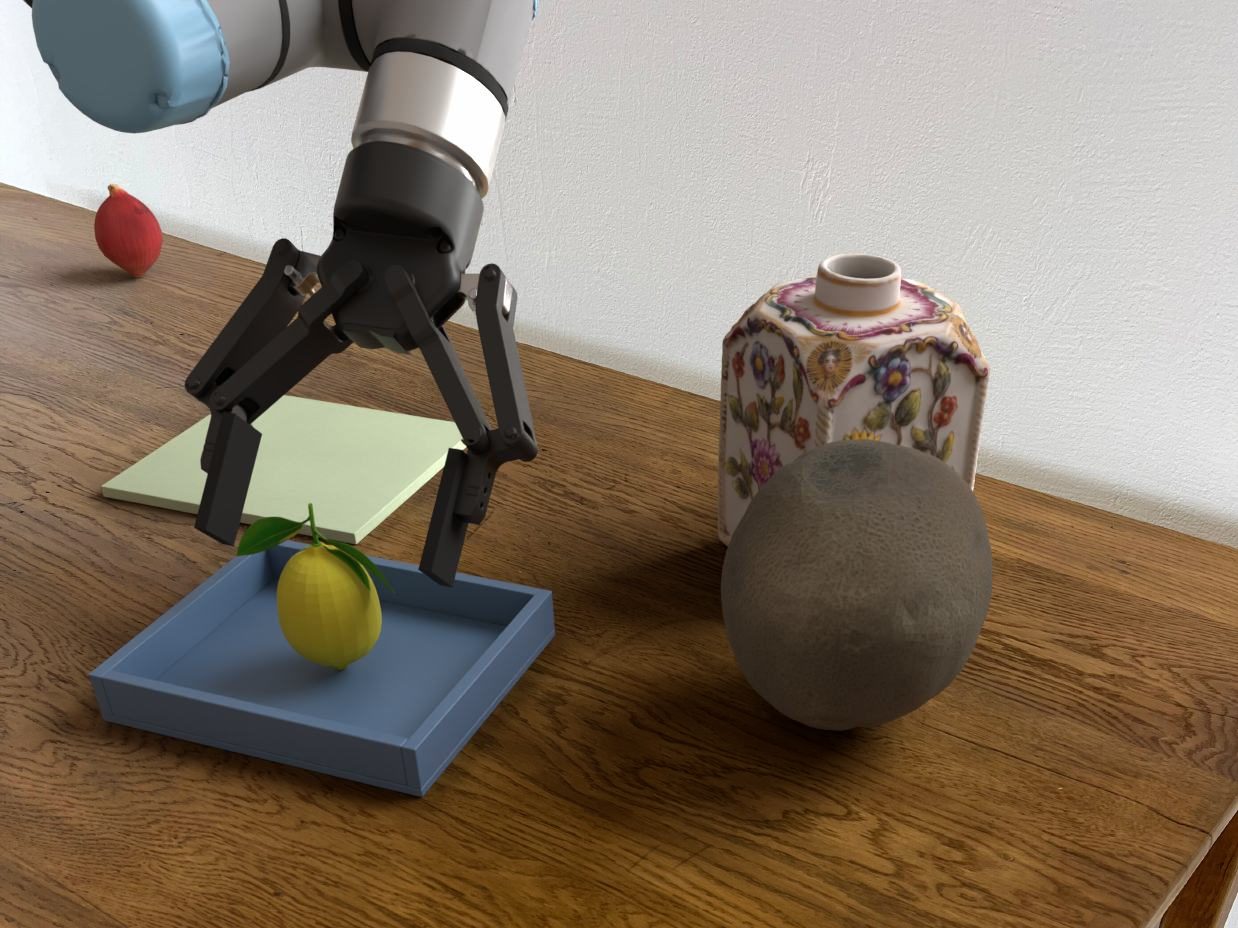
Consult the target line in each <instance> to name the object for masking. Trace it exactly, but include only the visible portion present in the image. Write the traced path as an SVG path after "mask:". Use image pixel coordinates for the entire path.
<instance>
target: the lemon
mask: <svg viewBox="0 0 1238 928" xmlns="http://www.w3.org/2000/svg"><path fill="white" fill-rule="evenodd" d="M308 509H309V517H308V518H307V519H306V520H304V521H303V522H296V521H293V520H289V519H286V518H282V517H267V518H262V519H259V520H257V521H256V522H255V523H253V524H252V525H251V524H250V526H249V527H247V529H246V530H245V532H244V533H243V534H242V536H241V539H240V541H239V543H238V546H237V551H236V554H235V556H245V555H253V554H257V553H260V552H263V551H265V550H268V549H270V548H273V547H275V546H277V545H279V544H281V543H283V542H284V541H286V540H290V539H291V538H294V537H295V536H297V535H298V532H299V531H300V529H301V527H302V525H303V524H305V523H306V522H308V521H309V520H310V525H311V531H312V535H313V536H312V539H313V543H311V544H310V546H307V547H305V548H303V549H302V550H300V551H299V552H297V553H296V554H295V555H294V556H292V557H291V558H290V560H289V561H288V562H287V564H286V566H285V567H284V569H283V571H282V573H281V576H280V579H279V582H278V588H277V608H278V617H279V622H280V626H281V629H282V632H283V634H284V636H285V638H286V639H287V641H288V643H289V644H290V645H291V646H292V648H293V649H294V650H295V651H296V652H297V653H298V654H299V655H301V656H302V657H304V658H305V659H307V660H309V661H311V662H314V663H317V664H321V665H325V666H331V667H332V668H334V669H336V670H343V669H346V668H347V667H348V665H349V664H351V663H353V662H355V661H357V660H359V659H361V658H362V657H364V656H365V655H366V654H368V653H369V652H370V651H371V649H372V648H373V646H374V645H375V643H376V641H377V640H378V638H379V635H380V631H381V625H382V616H381V608H380V603H379V598H378V595H377V591H376V588H375V586H374V584H373V581H372V579H371V577H370V576H369V574H368V572H367V571H366V569H368V570H369V571H370V572H371V573H372V574H374V575H375V576H376V577H377V578H378V579H380V580H381V581H382V582H383V583H384V584H385V585H386V586H387V587H388V588H389V589H390V590H391V591H392V592H393V593H394V594H396V593H395V592H394V590H393V589H392V587H391V586H390V584H389V583H388V581H387V580H386V578H385V577H384V575H383V574H382V573H381V572H380V570H379V569H378V568H377V567H376V565H375V564H374V563H373V562H372V561H371V560H370V559H369V558H368V557H367V556H368V555H367V556H366V554H365V553H364V552H362V551H361V550H359V549H358V548H356V547H354V546H352V544H351V545H350V544H349V543H346V542H340V541H335V540H330V539H326V538H325V537H323V536H322V535H321V534H319V532H318V531H317V530H316V527H315V521H314V513H313V506H312V503H309V504H308ZM317 535H319V536H320V537H321V538H320V539H322V540H324V541H325V542H327V543H328V544H326V543H324V542H323V541H320V540H319V537H318V536H317ZM363 566H364V567H365V568H366V569H365V568H364V567H363Z"/></svg>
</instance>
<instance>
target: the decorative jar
mask: <svg viewBox="0 0 1238 928" xmlns="http://www.w3.org/2000/svg"><path fill="white" fill-rule="evenodd" d="M721 349H722V350H721V354H722V355H721V369H720V370H721V372H720V373H721V374H720V375H721V376H720V377H721V378H720V405H719V406H720V407H719V426H718V428H719V431H718V459H717V460H718V461H717V533H718V539H719V541H720V542H722V544H724V545H725V546H726V547H728V546H729V543H730V540H731V537H732V535H733V533H734V531H735V529H736V527H737V526H738V524H739V522H740V521H741V519H742V517H743V516H744V514H745V512H746V510H747V507H748V505H749V503H750V502H751V500H752V499H753V497H754V496H755V495H756V493H757V492H758V491H759V490H760V488H761V487H762V486H763V485H764V484H765V483H766V482H767V481H768V480H769V479H770V478H771V477H772V476H773V475H774V474H775V473H776V472H777V471H778V470H779V469H780V468H781V467H783V466H784V465H786V464H788V463H790V462H792V461H794V460H795V459H796V458H798V457H799V456H800V455H802V454H804V453H805V452H807V451H810V450H812V449H814V448H817V447H819V446H822V445H824V444H827V443H830V442H835V441H842V440H860V439H871V440H877V441H883V442H887V443H891V444H895V445H900V446H906V447H909V448H912V449H916V450H918V451H921V452H924V453H927V454H930V455H932V456H934V457H936V458H938V459H940V460H941V461H943V462H945V463H946V464H947V465H949V466H950V467H951V468H952V469H953V470H954V471H956V472H957V473H958V474H959V475H960V476H961V477H962V479H963V480H964V481H965V482H966V483H967V484H968V486H969V487H970V488H971V490H972V491H973V492H974V487H975V481H976V480H975V477H976V472H977V471H976V470H977V466H978V464H977V463H978V459H979V458H978V456H979V452H980V444H981V435H982V429H983V422H984V414H985V408H986V407H985V406H986V402H987V395H988V388H989V382H990V371H991V368H990V366H989V363H988V362H987V360H986V357H985V355H984V354H983V352H982V349H981V347H980V344H979V342H978V340H977V338H976V337H975V335H974V334H973V332H972V330H971V328H970V325H968V322H967V319H966V317H965V315H964V313H963V311H962V308H961V307H960V305H959V304H958V303H957V302H956V301H954V300H953V299H951V298H949V297H947V296H946V295H944V294H942V293H941V292H939V291H937V290H936V289H934V288H932V287H930V286H929V285H927V284H925V283H923V282H921V281H918V280H915V279H911V278H902V269H901V267H900V265H899V264H898V263H897V262H896V261H894V260H892V259H889V258H887V257H884V256H879V255H874V254H866V253H842V254H835V255H832V256H828V257H826V258H824V259H823V260H821V261H820V263H819V264H818V267H817V272H816V274H814V275H813V274H812V275H808V276H802V277H798V278H794V279H790V280H786V281H782V282H779V283H776V284H774V285H773V286H771V288H769V290H768V291H766V292H765V293H763V294H762V295H761V296H760V297H759V298H758V299H757V300H756V301H755V302H754V303H752V304H751V305H750V306H748V308H747V309H746V310H744V312H743V314H742V315H741V317H739V319H738V320H737V321H736V322H735V323H734V324H733V325H732V326H731V328H730V330H729V331H728V332H727V333H726V334H725V335H724V338H723V339H722V344H721Z"/></svg>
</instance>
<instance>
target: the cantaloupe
mask: <svg viewBox="0 0 1238 928" xmlns="http://www.w3.org/2000/svg"><path fill="white" fill-rule="evenodd" d="M993 574H994V573H993V555H992V547H991V542H990V537H989V532H988V526H987V521H986V517H985V514H984V512H983V509H982V506H981V503H980V502H979V500H978V498H977V496H976V495H975V493H974V490H973V491H972V490H971V488H970V487H969V486H968V484H967V483H966V482H965V481H964V480H963V479H962V477H961V476H960V475H959V474H958V473H957V472H956V471H954V470H953V469H952V468H951V467H950V466H949V465H947V464H946V463H945V462H943V461H941V460H940V459H938V458H936V457H934V456H932V455H930V454H927V453H924V452H921V451H918V450H916V449H912V448H909V447H906V446H900V445H895V444H891V443H887V442H883V441H877V440H871V439H860V440H842V441H835V442H830V443H827V444H824V445H822V446H819V447H817V448H814V449H812V450H810V451H807V452H805V453H804V454H802V455H800V456H799V457H798V458H796V459H795V460H794V461H792V462H790V463H788V464H786V465H784V466H783V467H781V468H780V469H779V470H778V471H777V472H776V473H775V474H774V475H773V476H772V477H771V478H770V479H769V480H768V481H767V482H766V483H765V484H764V485H763V486H762V487H761V488H760V490H759V491H758V492H757V493H756V495H755V496H754V497H753V499H752V500H751V502H750V503H749V505H748V507H747V510H746V512H745V514H744V516H743V517H742V519H741V521H740V522H739V524H738V526H737V527H736V529H735V531H734V533H733V535H732V537H731V540H730V543H729V546H727V549H726V552H725V556H724V560H723V565H722V571H721V580H720V581H721V582H720V599H721V610H722V617H723V622H724V628H725V632H726V635H727V636H726V637H727V639H728V643H729V645H730V648H731V651H732V653H733V657H734V659H735V661H736V663H737V665H738V667H739V669H740V671H741V673H742V675H743V676H744V678H745V680H746V681H747V682H748V684H749V685H750V686H751V687H752V689H754V691H755V692H757V694H758V695H759V696H760V697H762V698H763V699H764V700H765V701H766V702H768V704H770V705H771V706H772V707H773V708H775V709H776V711H778V712H779V713H781V714H782V715H784V716H785V717H787V718H789V719H791V720H792V721H793V720H794V721H796V722H798V723H800V724H803V725H805V726H807V727H810V728H814V729H817V730H825V731H838V732H841V731H847V730H852V729H854V728H863V729H864V728H865V729H867V728H868V729H869V728H874V727H878V726H881V725H884V724H888V723H890V722H893V721H895V720H898V719H901V718H902V717H904V716H907V715H908V714H911V713H913V712H915V711H916V710H918V709H919V708H921V707H922V706H924V705H925V704H926V703H928V702H929V701H930V700H932V699H933V698H935V697H937V696H938V695H939V694H941V693H942V692H943V691H944V690H946V689H947V688H948V687H949V686H950V685H951V684H952V683H953V681H955V679H956V678H957V677H958V675H959V674H960V673H961V672H962V670H963V669H964V667H965V666H966V664H967V662H968V661H969V660H970V657H971V655H972V653H973V651H974V648H975V646H976V644H977V642H978V639H979V637H980V633H981V631H982V628H983V626H984V625H985V622H986V618H987V615H988V612H989V607H990V603H991V599H992V592H993V577H994V576H993Z"/></svg>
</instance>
